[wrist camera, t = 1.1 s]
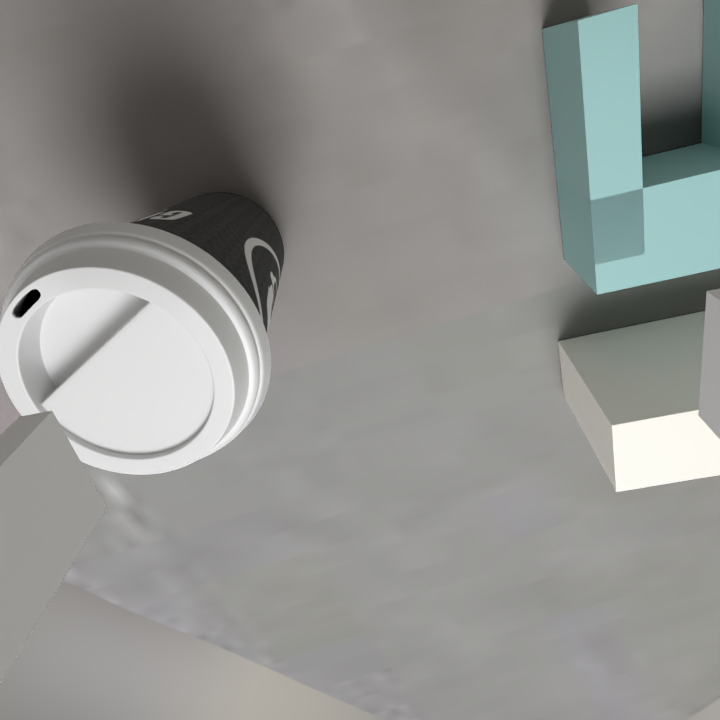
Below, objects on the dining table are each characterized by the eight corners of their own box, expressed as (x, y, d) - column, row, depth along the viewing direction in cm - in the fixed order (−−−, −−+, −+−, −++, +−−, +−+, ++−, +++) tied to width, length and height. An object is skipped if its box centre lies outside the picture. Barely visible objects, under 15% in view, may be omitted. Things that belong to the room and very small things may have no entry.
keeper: (542, 29, 27) (577, 20, 22) (756, -33, 25) (845, -56, 20) (564, 259, 32) (597, 294, 27) (743, 219, 30) (812, 248, 25)
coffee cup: (272, 137, 29) (180, 196, 16) (334, 302, 33) (301, 458, 20) (111, 195, 31) (-94, 292, 18) (188, 345, 35) (69, 516, 22)
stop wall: (558, 341, 34) (611, 425, 26) (754, 300, 32) (875, 377, 24) (564, 396, 36) (616, 491, 28) (750, 361, 34) (862, 451, 26)
